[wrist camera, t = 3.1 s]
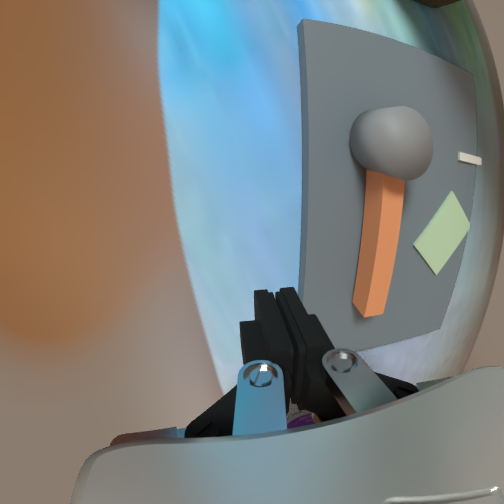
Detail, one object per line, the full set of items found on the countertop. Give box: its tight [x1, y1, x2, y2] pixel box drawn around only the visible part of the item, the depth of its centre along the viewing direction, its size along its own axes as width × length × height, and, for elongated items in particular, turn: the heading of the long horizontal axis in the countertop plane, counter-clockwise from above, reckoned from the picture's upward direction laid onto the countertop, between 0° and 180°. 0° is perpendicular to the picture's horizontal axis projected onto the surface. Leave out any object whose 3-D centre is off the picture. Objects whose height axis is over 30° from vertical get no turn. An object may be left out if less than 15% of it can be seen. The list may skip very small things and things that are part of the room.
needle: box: [350, 106, 433, 317], centre depth 13 cm, size 12×4×3 cm, turn 1°
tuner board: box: [297, 19, 482, 352], centre depth 16 cm, size 22×14×1 cm, turn 2°
